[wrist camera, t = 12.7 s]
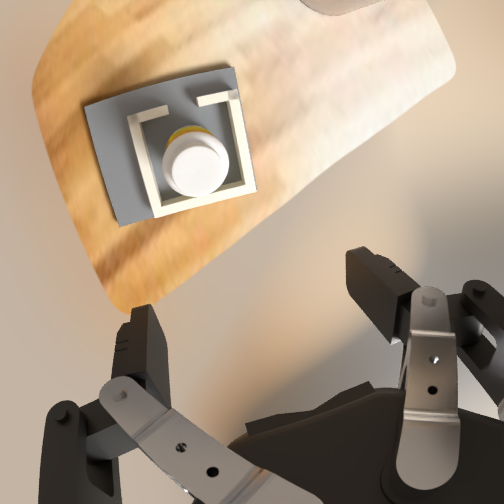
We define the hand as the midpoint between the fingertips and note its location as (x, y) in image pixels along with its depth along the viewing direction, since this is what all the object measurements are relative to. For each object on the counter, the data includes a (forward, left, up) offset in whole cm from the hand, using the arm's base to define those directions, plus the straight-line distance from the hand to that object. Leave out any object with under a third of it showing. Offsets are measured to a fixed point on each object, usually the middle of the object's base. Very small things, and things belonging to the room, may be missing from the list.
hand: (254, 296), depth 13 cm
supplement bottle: (0, -2, -24) cm, 24 cm away
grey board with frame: (+2, -3, -25) cm, 25 cm away
